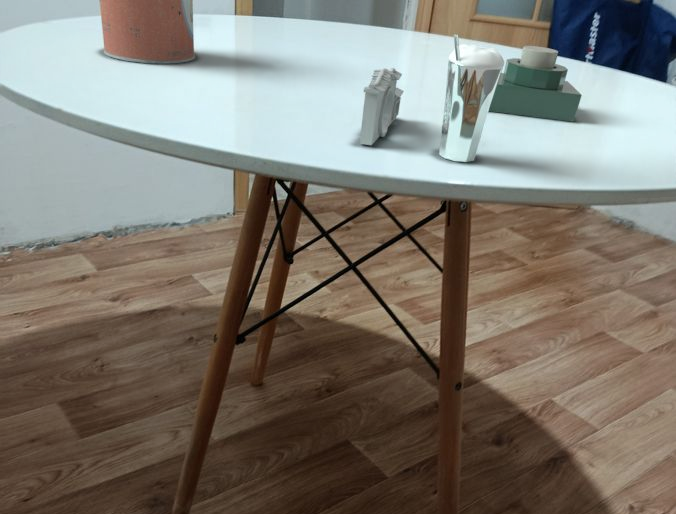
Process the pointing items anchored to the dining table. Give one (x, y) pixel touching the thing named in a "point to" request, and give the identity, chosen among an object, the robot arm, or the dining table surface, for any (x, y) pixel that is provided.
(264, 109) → the dining table surface
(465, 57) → the milkshake
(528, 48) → the white short cylinder
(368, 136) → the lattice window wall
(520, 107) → the dispenser
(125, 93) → the dining table surface
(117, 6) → the canned food
